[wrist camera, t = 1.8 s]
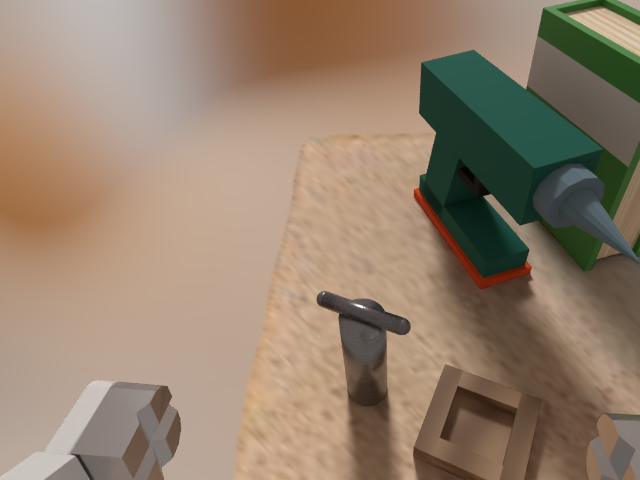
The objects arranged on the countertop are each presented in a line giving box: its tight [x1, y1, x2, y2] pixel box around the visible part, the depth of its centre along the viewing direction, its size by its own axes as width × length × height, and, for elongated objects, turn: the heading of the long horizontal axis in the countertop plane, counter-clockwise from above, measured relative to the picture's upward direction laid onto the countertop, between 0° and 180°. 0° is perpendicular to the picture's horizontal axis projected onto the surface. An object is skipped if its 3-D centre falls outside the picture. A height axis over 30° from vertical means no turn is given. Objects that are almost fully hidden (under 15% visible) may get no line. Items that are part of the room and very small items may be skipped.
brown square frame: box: [413, 364, 542, 480], centre depth 45 cm, size 9×9×2 cm
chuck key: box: [317, 291, 411, 406], centre depth 45 cm, size 8×4×13 cm, turn 62°
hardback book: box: [526, 0, 640, 271], centre depth 55 cm, size 18×7×24 cm, turn 15°
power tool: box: [414, 50, 640, 289], centre depth 52 cm, size 32×7×20 cm, turn 17°
